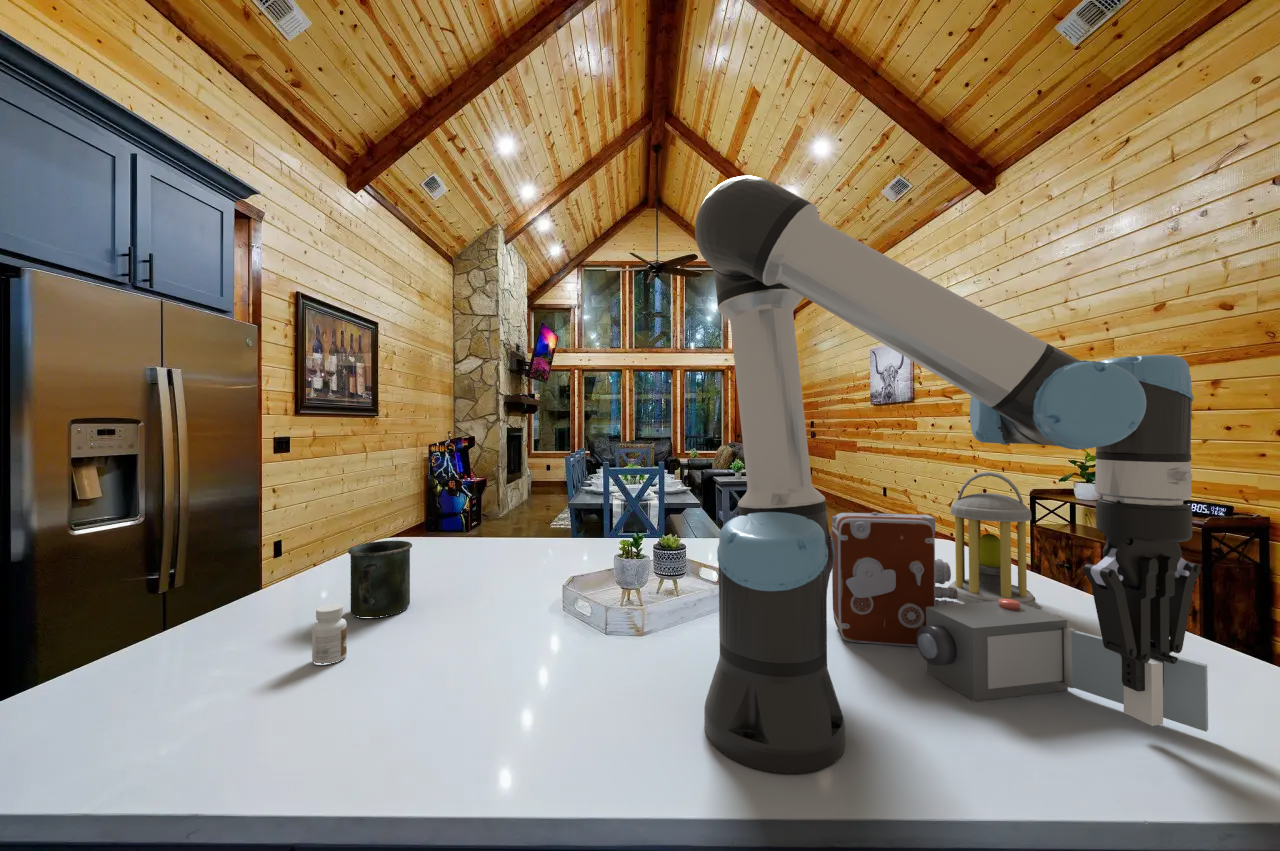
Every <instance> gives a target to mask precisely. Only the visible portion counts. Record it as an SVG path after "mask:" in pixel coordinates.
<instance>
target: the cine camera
mask: <svg viewBox="0 0 1280 851" xmlns="http://www.w3.org/2000/svg"><path fill="white" fill-rule="evenodd" d="M831 518H832V519H831V520H832V528H831V538H832V540H833V544H834V552H835V556H834V562H833V567H832V570H831V573H832V574H831V575H832V581H831V583H832V611H833V612H832V613H833V619H834V622H835V626H836V628H837V629H838V633H839V634H840V636H841V638H842V639H843V640H845V641H847V642H850V643H858V644H859V643H860V644H873V645H885V646H902V647H915V648H916V647H917V648H918V645H917V632H918V630H919V629H920V628H921V627H923V626H926V607H929V606H942V605H955V604H965V603H963V602H961V601H953V600H956V599H957V598H958V592H957V589H956V588H955V587H949V586H947V587H943V586H936V584H939V585H945V583H946V582H947V583H948V582H950V581H951V578H952V571H951V570H952V569H951V566H950V564H949V562H946V561H945V562H944V560H943V559H941V558H937V559H936V543H935V534H936V517H933V516H931V515H929V514H911V513H910V514H909V513H888V512H887V513H885V512H884V513H882V512H881V513H880V512H879V513H878V512H877V511H873V512H840V513H837V514H836V515H832V517H831ZM939 599H941V600H939ZM948 599H950V600H948Z"/></svg>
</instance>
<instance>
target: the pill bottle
mask: <svg viewBox="0 0 1280 851" xmlns="http://www.w3.org/2000/svg"><path fill="white" fill-rule="evenodd" d="M343 615H344V605H343V604H340V603H331V604H324V605H322V606H318V607H317V608H316V609H315V619H316V621H317V622H316V623H314V624H313V626H312V628H311V629H312V630H311V631H312V632H311V637H312V638H311V639H312V640H311V641H312V644H311V645H312V646H311V660H312V661H313V662H315V663H321V664H324V663H332V662H336V661H339V660H342V659H343V658H344V659H346V658H347V656H348V654H347V653H348V652H347V651H348V649H347V647H348V646H347V643H348V642H347V637H348V636H347V634H348V631H347V630H348V623H347V620H346V619H345V618H342V617H343ZM346 655H347V656H346ZM344 659H343V660H344ZM343 660H342V661H343ZM312 661H311V662H312ZM313 662H312V663H313Z"/></svg>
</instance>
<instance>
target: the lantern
mask: <svg viewBox="0 0 1280 851" xmlns="http://www.w3.org/2000/svg"><path fill="white" fill-rule="evenodd" d="M980 477H994V478H997V479H1000V480H1002V481H1004V482H1005V483H1007V484H1008V485H1009V486H1010V488H1012V490H1013V491H1014V492H1015V494H1016V498H1018V500H1017V499H1016V498H1013V497H1010V496H1007V495H1003V494H999V493H989V492H983V493H982V492H981V493H980V492H979V493H972V494H968V495H965V496H962V495H963V493H964V491H965V489H966V488H967V487H968V485H970V484H971V482H973V481H974V480H976V479H978V478H980ZM950 514H951V515H952V516H954V536H955V538H954V540H955V543H954V544H955V551H954V552H955V580H954V581H953V582H951V583H950V584H949V586H948V587H955V588H956V589H957V592H958V598H957V601H958V600H959V601H958V602H961V603H963V602H964V604H968V603H981V602H993V601H999V599H1012V600H1016V601H1018V602H1020V603H1022V604H1024V605H1027V606H1030V607H1033V608H1035V607H1036V605H1037V601H1036V597H1035V596H1034V594H1033V593H1032V591H1030V590H1028V589H1027V587H1028V584H1027V581H1028V580H1027V579H1028V578H1027V522H1029V521H1031V520H1032V511H1031V509H1030V508H1029V507H1027V506H1026V505H1025V504H1024V501H1023V498H1022V495H1021V493H1020V491H1019V489H1018V487H1016V485H1015V484H1014V483H1013V482H1012V481H1011V480H1010V479H1009V478H1007V477H1005V476H1004V475H1002V474H1000V473H996V472H992V471H985V472H984V471H983V472H979V473H976V474H974V475H973V476H971V477H970V478H968V480H966V482H964V483H963V485H962V486H961V488H960V490H959V492H958V494H957V499H956V501H954V502H953V503H952V504H951V506H950ZM965 519H966V520H968V523H967V525H968V526H967V527H968V528H967V529H968V532H967V533H968V578H965V577H966V576H965V574H966V573H965V572H966V569H965V567H966V566H965V565H966V564H965V560H966V558H965ZM981 521H985V522H996V523H997V522H999V533H1000V534H999V537H998V536H997V535H995V534H993V533H985V534H982V535H981ZM1011 523H1017V524H1016V525H1017V526H1016V527H1017V529H1016V530H1017V536H1016V538H1017V541H1016V542H1017V585H1015V584H1012V540H1011V539H1012V538H1011V535H1012V534H1011V533H1012V531H1011V528H1012V527H1011V526H1012V525H1011Z"/></svg>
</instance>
